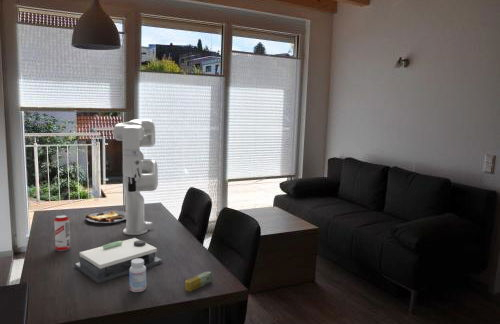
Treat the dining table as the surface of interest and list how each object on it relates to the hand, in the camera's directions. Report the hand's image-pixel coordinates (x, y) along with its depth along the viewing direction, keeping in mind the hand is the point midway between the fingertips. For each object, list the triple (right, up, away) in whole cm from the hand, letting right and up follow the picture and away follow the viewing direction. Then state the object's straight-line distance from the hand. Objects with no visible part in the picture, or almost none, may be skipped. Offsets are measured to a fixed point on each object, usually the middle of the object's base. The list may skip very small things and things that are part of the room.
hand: (132, 191), depth 193 cm
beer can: (-32, -27, -2) cm, 42 cm away
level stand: (0, -30, -18) cm, 35 cm away
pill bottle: (+14, -34, -39) cm, 54 cm away
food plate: (-27, -20, +45) cm, 57 cm away
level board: (0, -25, -19) cm, 32 cm away
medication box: (+36, -34, -35) cm, 61 cm away
